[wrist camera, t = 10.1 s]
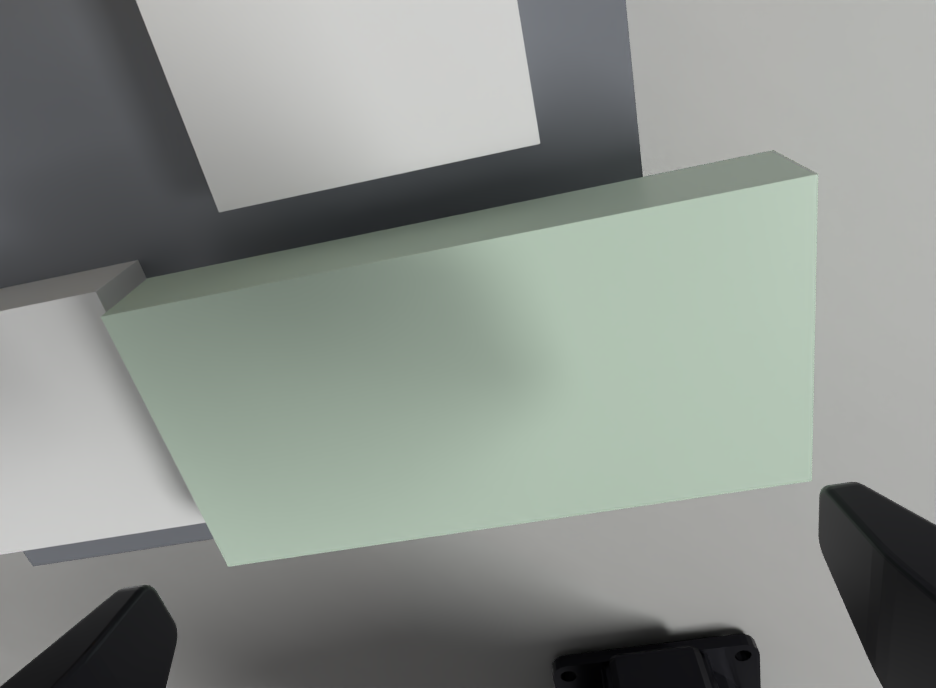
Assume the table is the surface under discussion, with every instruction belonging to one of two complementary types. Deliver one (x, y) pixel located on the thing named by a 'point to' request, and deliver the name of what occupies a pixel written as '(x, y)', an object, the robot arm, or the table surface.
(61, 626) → the table surface
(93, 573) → the table surface
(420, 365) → the green key
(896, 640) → the robot arm
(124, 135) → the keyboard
